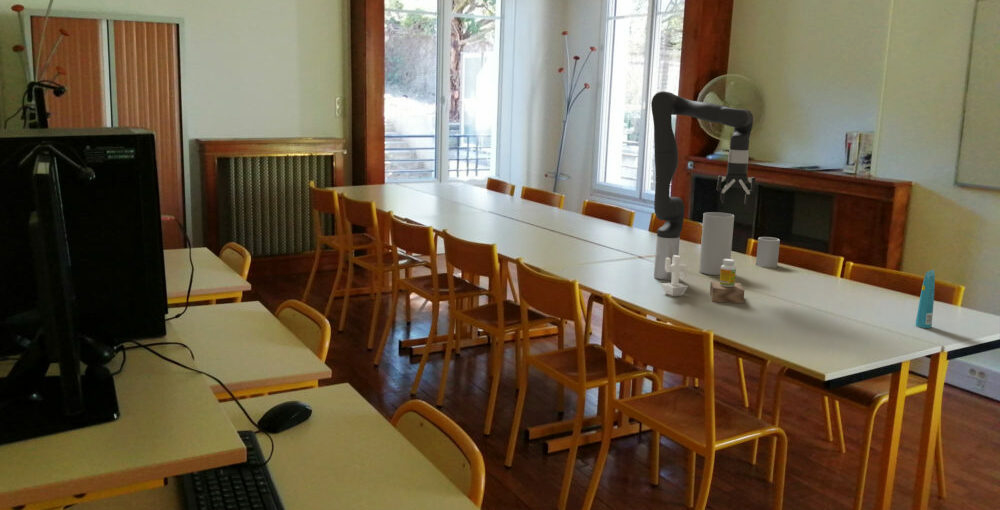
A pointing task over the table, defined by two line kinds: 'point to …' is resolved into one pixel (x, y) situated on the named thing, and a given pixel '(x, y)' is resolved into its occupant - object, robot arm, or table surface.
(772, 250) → the cup
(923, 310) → the tube
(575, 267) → the table surface
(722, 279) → the supplement bottle
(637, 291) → the table surface
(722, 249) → the cylinder vase
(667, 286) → the figurine
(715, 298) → the walnut block
